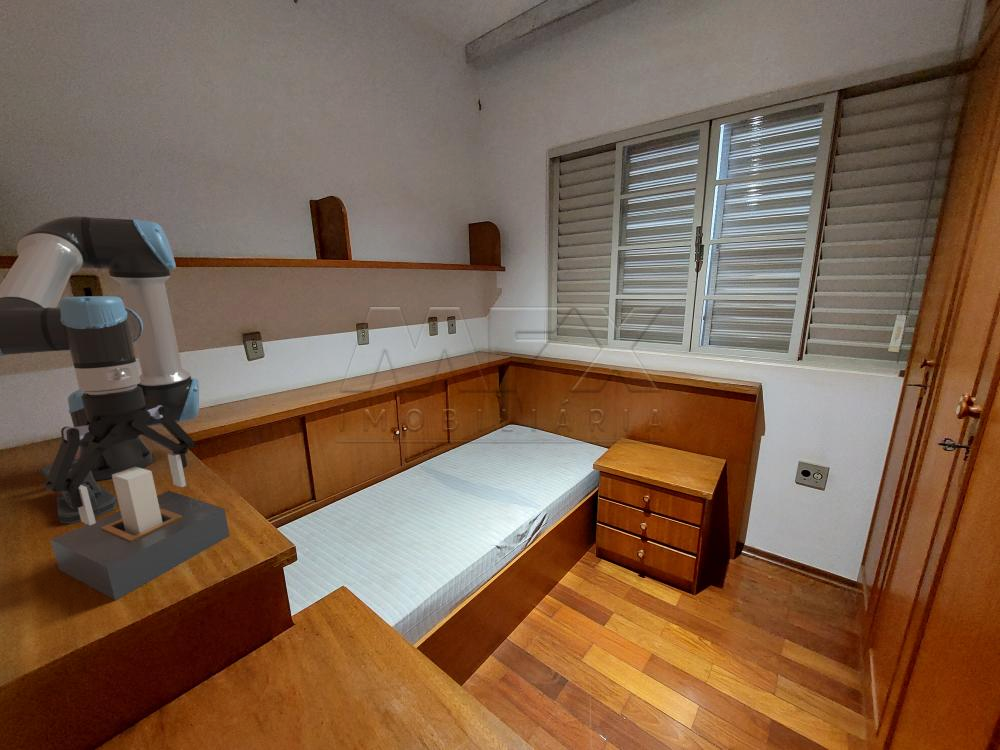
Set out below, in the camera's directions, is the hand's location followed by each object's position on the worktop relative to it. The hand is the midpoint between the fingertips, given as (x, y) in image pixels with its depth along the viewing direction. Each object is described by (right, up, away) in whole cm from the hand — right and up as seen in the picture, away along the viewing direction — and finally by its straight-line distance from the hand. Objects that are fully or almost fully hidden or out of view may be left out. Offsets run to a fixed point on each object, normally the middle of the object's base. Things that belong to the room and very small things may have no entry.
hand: (138, 502), depth 72 cm
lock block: (0, -10, +2) cm, 10 cm away
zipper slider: (-32, -6, +20) cm, 38 cm away
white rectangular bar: (0, -10, +2) cm, 10 cm away
